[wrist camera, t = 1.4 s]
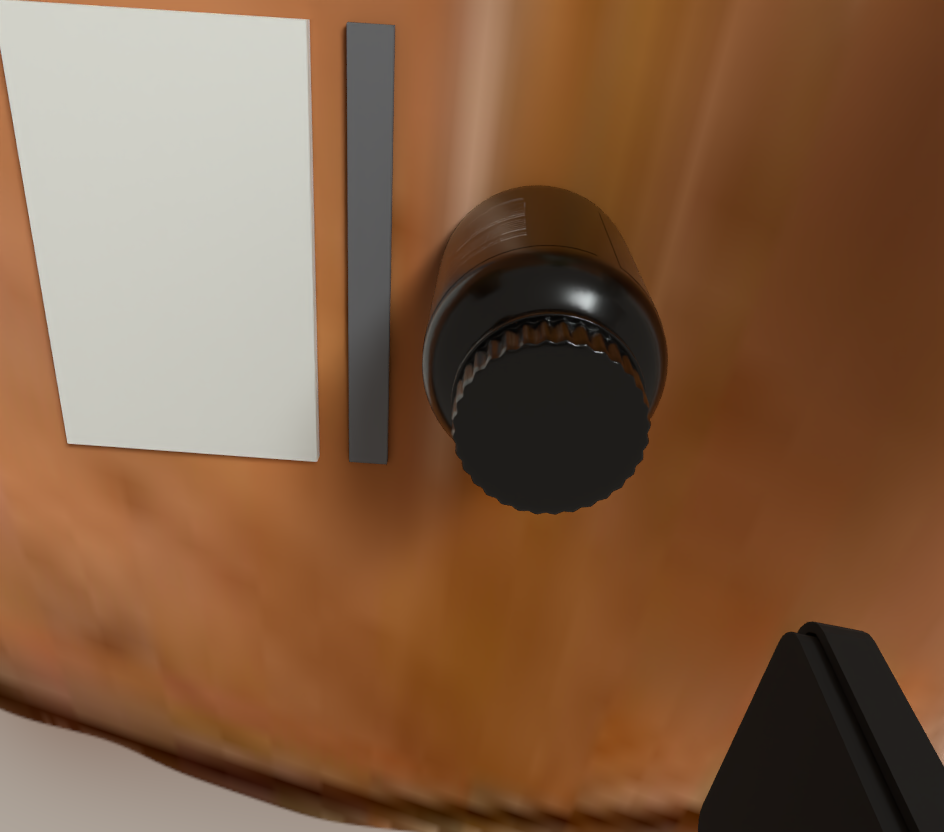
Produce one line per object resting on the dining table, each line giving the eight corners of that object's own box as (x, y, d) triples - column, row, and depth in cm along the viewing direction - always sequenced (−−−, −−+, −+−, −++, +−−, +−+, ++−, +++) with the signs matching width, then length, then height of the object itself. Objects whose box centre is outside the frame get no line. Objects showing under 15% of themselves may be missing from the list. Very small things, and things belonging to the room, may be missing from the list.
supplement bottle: (445, 366, 33) (411, 550, 22) (436, 184, 30) (391, 295, 19) (628, 363, 33) (682, 550, 22) (637, 178, 30) (705, 289, 19)
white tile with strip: (395, 25, 28) (393, 25, 27) (387, 460, 35) (386, 466, 35) (0, -1, 28) (-8, -1, 28) (73, 437, 35) (67, 443, 35)
